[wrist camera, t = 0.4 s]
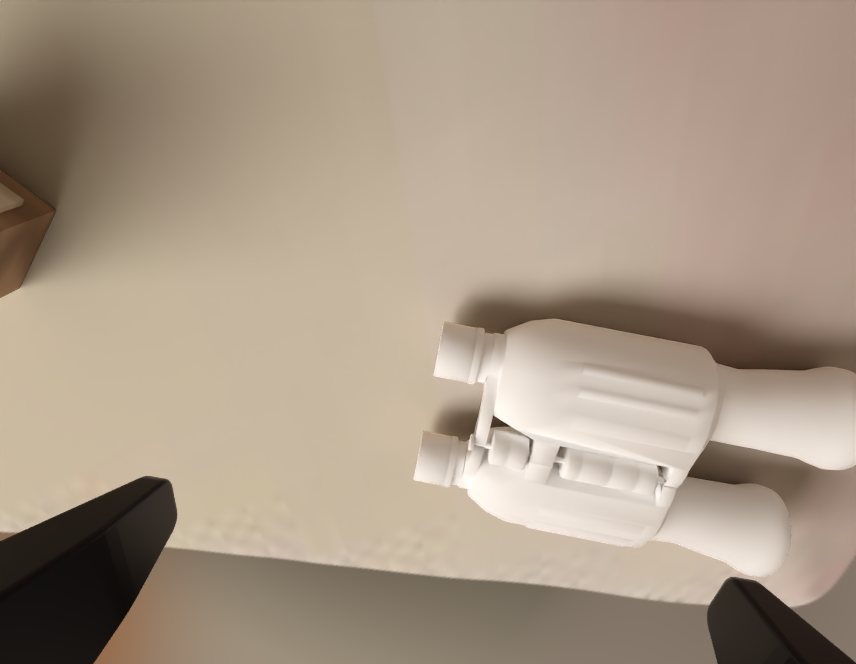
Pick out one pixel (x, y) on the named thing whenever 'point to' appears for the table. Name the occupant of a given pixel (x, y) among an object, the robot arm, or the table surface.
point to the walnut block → (19, 231)
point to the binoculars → (632, 437)
